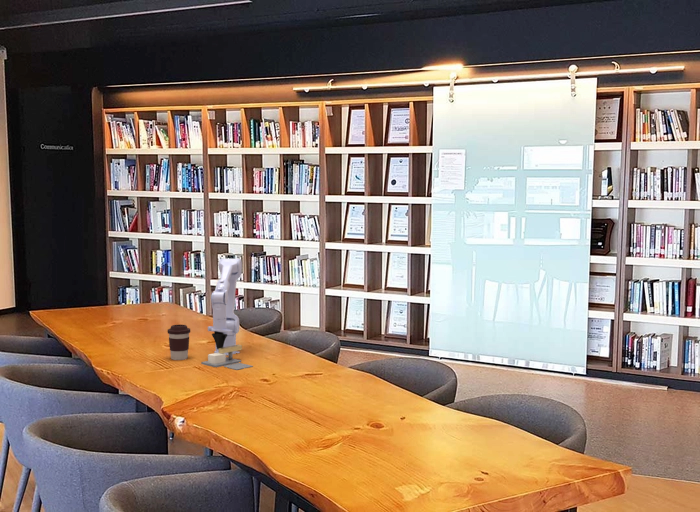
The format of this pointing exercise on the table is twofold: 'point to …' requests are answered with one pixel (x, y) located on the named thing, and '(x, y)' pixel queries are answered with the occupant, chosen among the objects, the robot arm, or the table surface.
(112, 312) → the table surface
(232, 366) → the mat
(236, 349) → the tan rectangular bar
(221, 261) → the robot arm
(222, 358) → the white rectangular block
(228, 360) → the panel
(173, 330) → the coffee cup
